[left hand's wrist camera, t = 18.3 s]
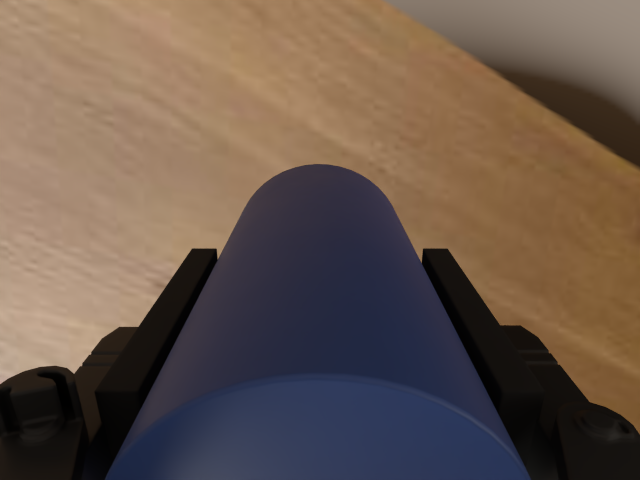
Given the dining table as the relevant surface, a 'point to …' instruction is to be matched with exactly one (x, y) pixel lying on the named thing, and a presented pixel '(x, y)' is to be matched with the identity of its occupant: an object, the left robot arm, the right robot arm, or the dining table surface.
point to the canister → (318, 356)
